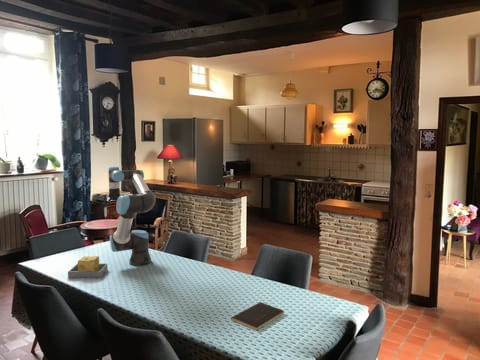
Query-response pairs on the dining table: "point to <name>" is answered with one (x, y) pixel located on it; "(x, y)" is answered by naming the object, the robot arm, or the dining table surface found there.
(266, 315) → the hardcover book
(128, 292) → the dining table surface
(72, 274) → the bin
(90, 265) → the cheese
